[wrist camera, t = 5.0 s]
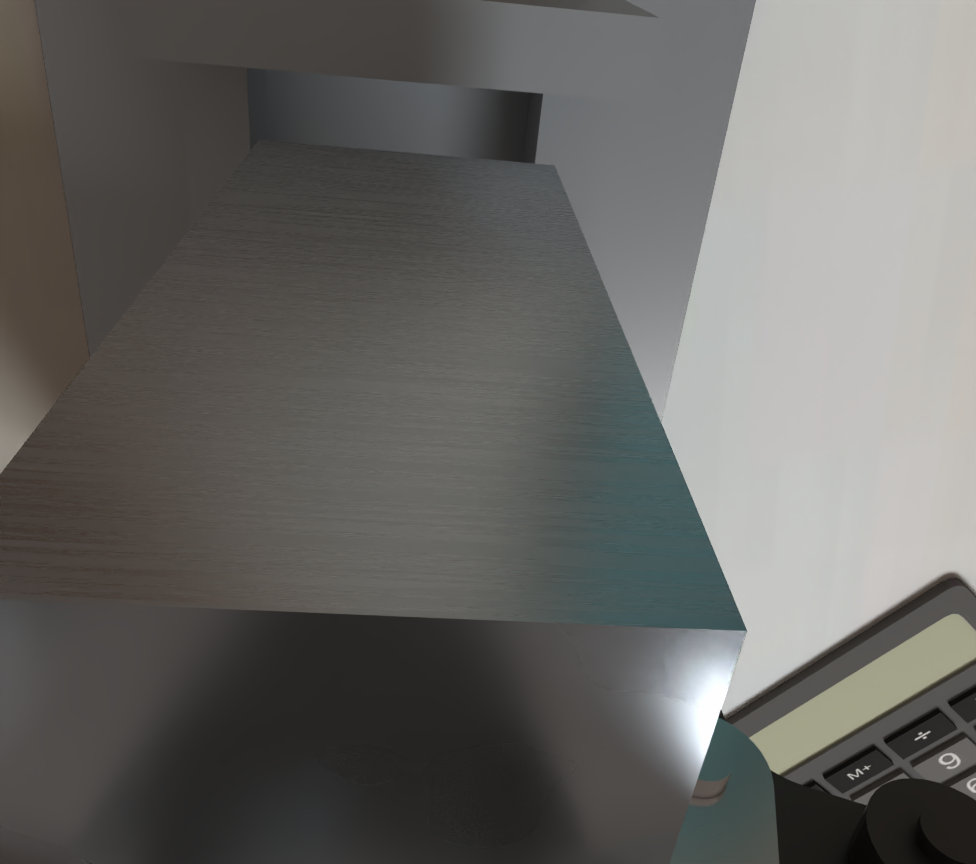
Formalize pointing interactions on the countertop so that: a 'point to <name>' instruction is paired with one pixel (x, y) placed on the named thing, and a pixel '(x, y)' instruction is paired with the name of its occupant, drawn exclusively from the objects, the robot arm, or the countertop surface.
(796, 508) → the countertop surface
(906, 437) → the countertop surface
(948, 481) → the countertop surface
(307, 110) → the grey stand
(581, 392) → the block
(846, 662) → the calculator
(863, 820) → the robot arm
